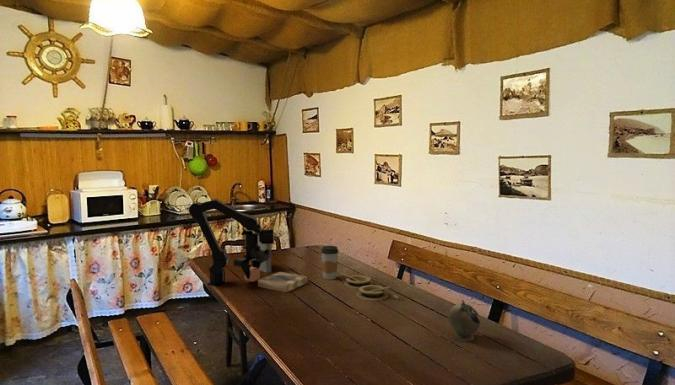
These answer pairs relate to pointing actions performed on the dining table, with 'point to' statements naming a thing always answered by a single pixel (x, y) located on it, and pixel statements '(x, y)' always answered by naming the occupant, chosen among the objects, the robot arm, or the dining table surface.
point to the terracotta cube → (253, 274)
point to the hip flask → (267, 264)
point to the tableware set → (366, 287)
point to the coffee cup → (329, 262)
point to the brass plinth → (282, 281)
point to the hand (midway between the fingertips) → (252, 277)
